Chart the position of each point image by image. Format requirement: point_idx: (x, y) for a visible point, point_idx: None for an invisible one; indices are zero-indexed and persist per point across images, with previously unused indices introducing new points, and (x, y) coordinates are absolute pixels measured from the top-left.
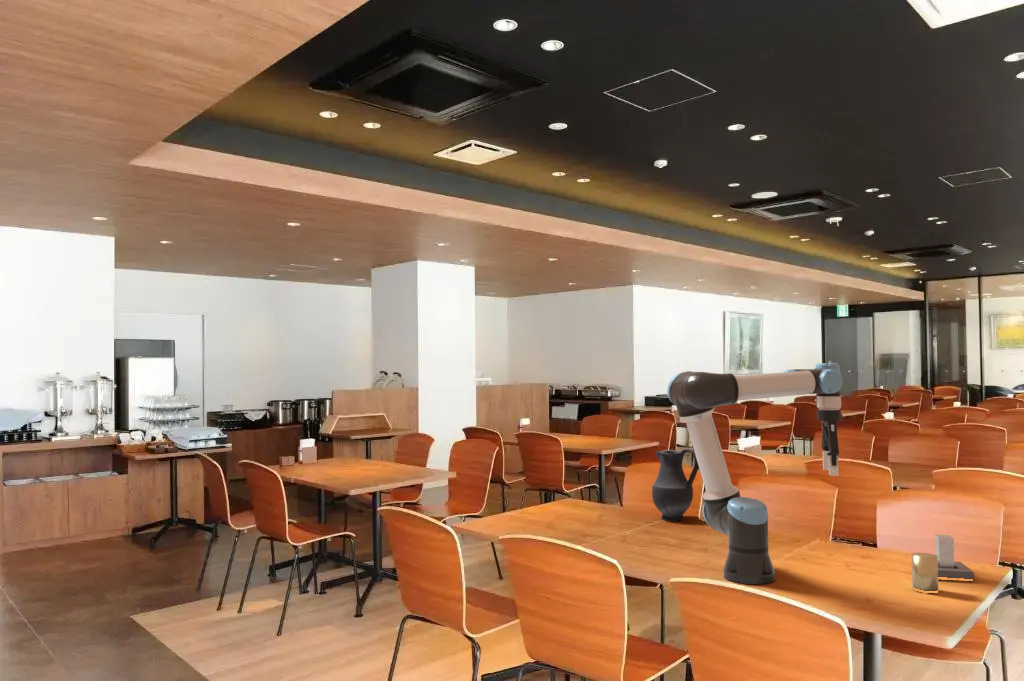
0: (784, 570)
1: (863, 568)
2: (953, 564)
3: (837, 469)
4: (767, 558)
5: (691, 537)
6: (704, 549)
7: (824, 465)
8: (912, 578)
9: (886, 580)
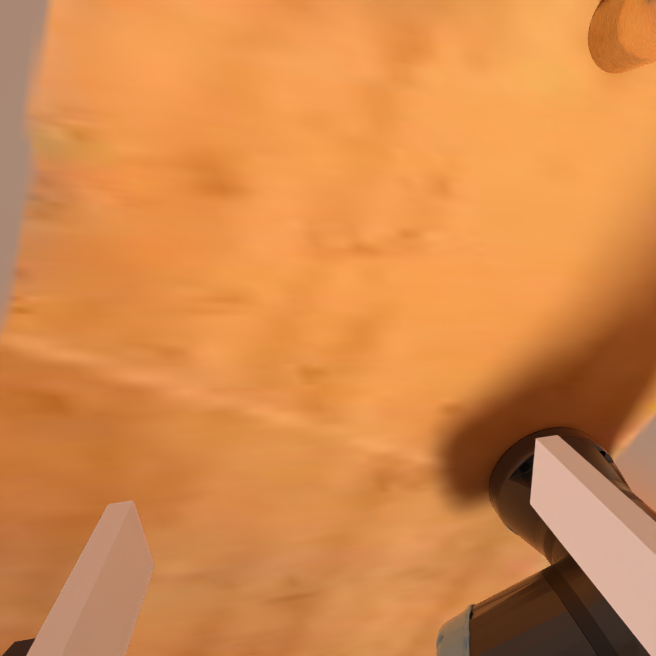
0: (462, 414)
1: (388, 201)
2: None
3: (603, 484)
4: (615, 477)
5: (161, 650)
6: (293, 600)
7: (134, 604)
8: (644, 63)
9: (521, 143)
